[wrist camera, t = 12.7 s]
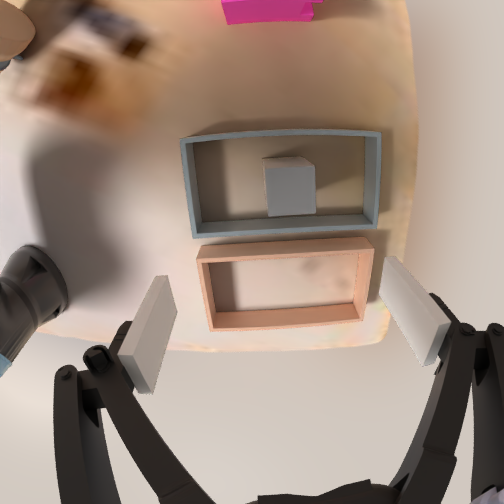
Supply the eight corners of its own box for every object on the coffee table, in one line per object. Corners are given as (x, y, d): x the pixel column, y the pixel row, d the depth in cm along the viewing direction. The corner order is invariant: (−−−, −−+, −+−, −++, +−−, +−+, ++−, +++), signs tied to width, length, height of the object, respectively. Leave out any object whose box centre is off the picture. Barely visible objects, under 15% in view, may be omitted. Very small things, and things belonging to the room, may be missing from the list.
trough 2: (212, 315, 45) (209, 331, 41) (201, 245, 40) (196, 258, 36) (355, 305, 44) (362, 320, 41) (364, 236, 39) (374, 248, 35)
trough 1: (198, 227, 38) (192, 238, 35) (187, 137, 33) (179, 139, 30) (366, 218, 38) (376, 228, 34) (368, 130, 32) (381, 132, 29)
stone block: (265, 196, 37) (268, 216, 29) (262, 158, 34) (264, 168, 27) (303, 194, 36) (315, 213, 29) (301, 156, 34) (314, 166, 27)
